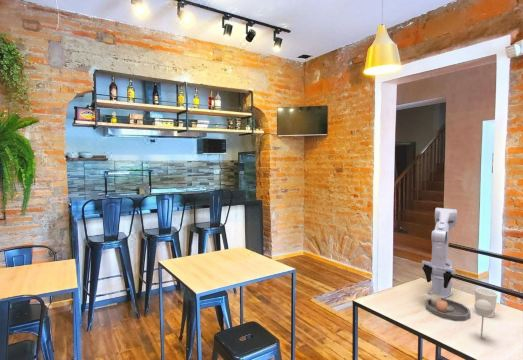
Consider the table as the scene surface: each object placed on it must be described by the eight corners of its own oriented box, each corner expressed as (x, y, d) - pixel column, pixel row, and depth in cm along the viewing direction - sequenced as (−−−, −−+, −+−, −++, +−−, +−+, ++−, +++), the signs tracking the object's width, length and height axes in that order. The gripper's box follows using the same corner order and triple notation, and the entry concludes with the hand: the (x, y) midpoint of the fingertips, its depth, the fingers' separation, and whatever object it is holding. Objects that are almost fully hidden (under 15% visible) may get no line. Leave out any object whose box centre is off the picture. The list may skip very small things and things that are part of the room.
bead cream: (433, 302, 149) (434, 292, 149) (442, 305, 146) (442, 295, 145) (429, 304, 147) (429, 294, 147) (437, 308, 144) (438, 297, 143)
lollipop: (491, 344, 117) (494, 305, 116) (472, 339, 120) (475, 301, 119) (490, 336, 122) (492, 299, 121) (471, 331, 125) (474, 295, 124)
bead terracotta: (439, 309, 142) (439, 298, 142) (448, 313, 139) (449, 302, 138) (434, 311, 140) (435, 301, 139) (443, 315, 137) (444, 304, 136)
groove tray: (437, 299, 154) (438, 295, 154) (476, 313, 140) (477, 309, 140) (418, 307, 145) (418, 303, 144) (458, 324, 130) (458, 320, 130)
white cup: (496, 313, 141) (498, 292, 140) (494, 320, 135) (495, 297, 134) (475, 307, 146) (477, 286, 145) (472, 313, 140) (473, 291, 139)
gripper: (418, 253, 148) (417, 281, 149) (451, 261, 136) (449, 292, 137) (426, 250, 152) (425, 278, 153) (458, 259, 140) (457, 288, 141)
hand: (437, 284), depth 146 cm, fingers open, 7 cm apart
